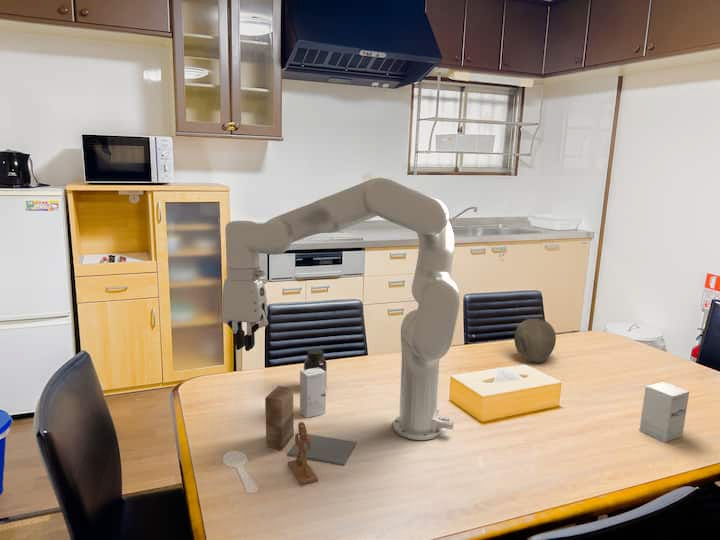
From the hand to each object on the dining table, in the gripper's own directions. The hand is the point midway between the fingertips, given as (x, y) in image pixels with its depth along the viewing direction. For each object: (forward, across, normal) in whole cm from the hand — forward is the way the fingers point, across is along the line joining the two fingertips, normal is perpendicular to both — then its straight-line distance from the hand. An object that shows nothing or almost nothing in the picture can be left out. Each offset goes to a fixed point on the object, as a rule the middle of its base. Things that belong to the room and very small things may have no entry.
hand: (245, 348), depth 126 cm
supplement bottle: (+23, -6, -32) cm, 40 cm away
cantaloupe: (+23, -71, -79) cm, 109 cm away
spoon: (+24, -6, +14) cm, 28 cm away
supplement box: (+23, -101, -34) cm, 109 cm away
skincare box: (+23, -11, -17) cm, 31 cm away
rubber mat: (+23, -20, 0) cm, 31 cm away
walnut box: (+23, -9, 0) cm, 25 cm away
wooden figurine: (+23, -19, +11) cm, 32 cm away
